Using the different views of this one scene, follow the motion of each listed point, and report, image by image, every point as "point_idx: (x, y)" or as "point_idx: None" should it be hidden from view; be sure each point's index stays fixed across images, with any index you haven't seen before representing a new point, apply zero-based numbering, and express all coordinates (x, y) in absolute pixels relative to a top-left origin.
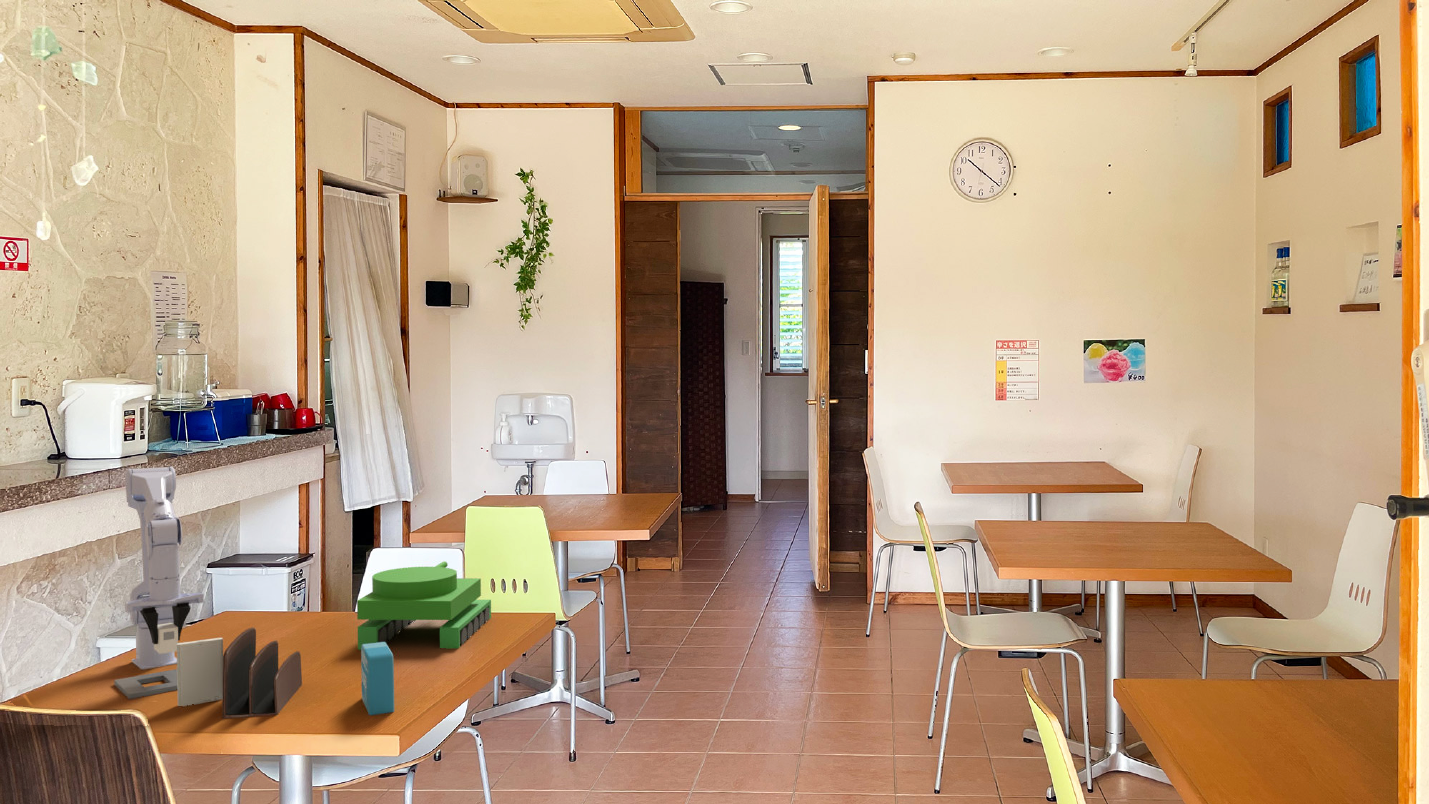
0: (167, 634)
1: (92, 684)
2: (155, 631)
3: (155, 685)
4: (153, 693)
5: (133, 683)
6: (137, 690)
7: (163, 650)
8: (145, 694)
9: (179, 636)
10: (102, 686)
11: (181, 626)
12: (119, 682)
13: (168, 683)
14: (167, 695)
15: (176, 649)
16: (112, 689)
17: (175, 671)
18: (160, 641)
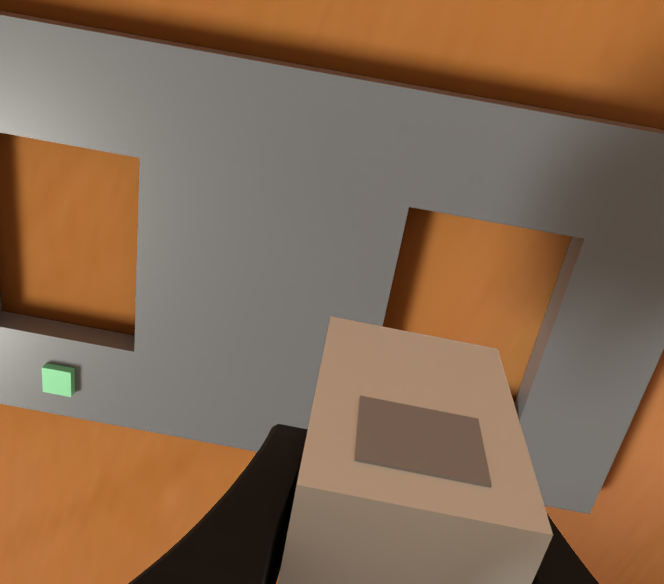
0: (437, 454)
1: (637, 576)
2: (560, 566)
3: (517, 218)
4: (581, 116)
5: (570, 373)
6: (658, 199)
7: (467, 357)
8: (635, 125)
9: (272, 443)
10: (633, 513)
11: (225, 513)
12: (604, 451)
13: (438, 192)
14: (530, 14)
15: (345, 328)
16: (641, 427)
17: (281, 413)
18: (510, 423)
